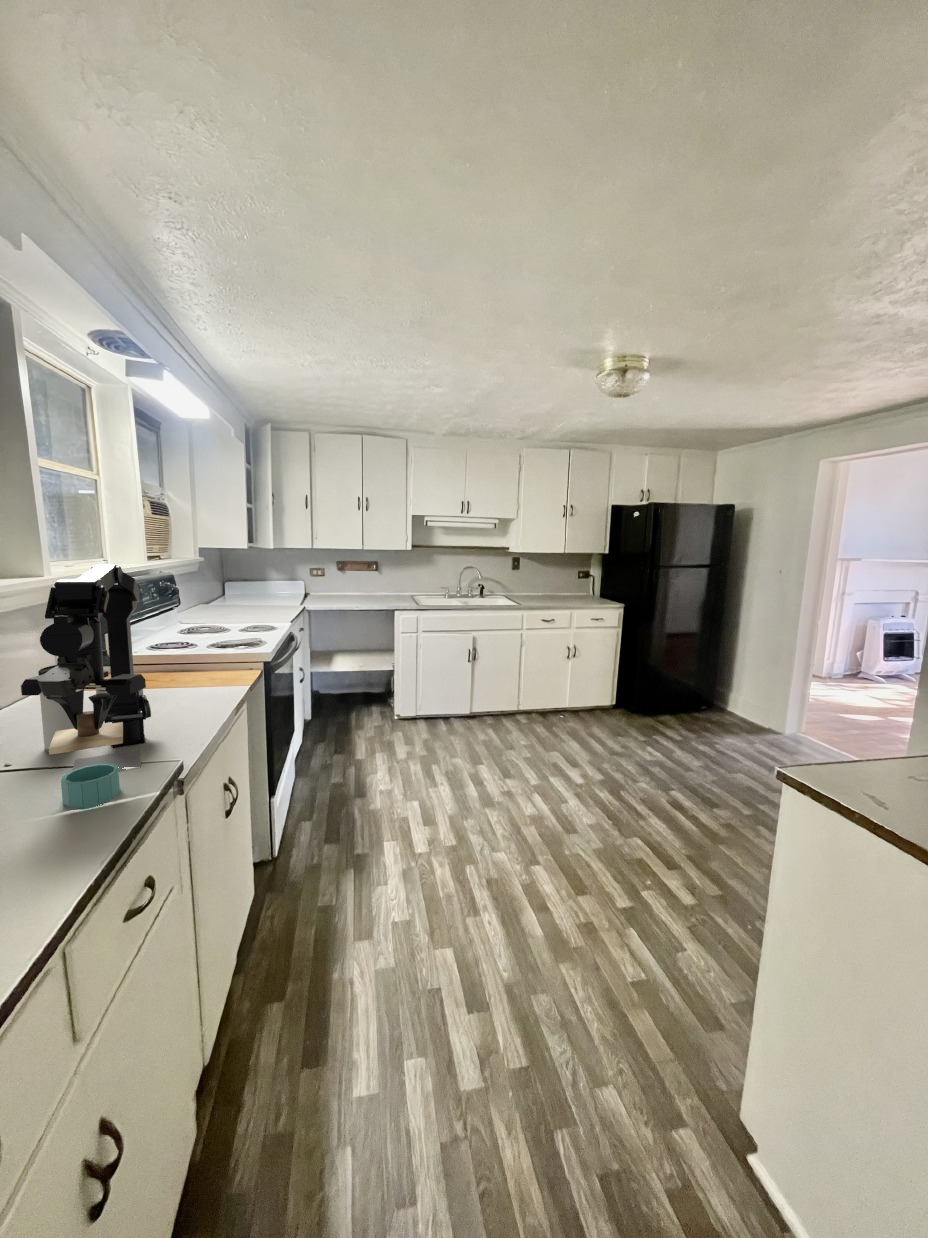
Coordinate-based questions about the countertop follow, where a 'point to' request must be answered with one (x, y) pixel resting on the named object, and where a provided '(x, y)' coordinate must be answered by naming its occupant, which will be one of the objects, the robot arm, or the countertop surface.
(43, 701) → the travel mug
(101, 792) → the bowl
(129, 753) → the mat
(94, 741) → the lid
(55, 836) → the countertop surface
